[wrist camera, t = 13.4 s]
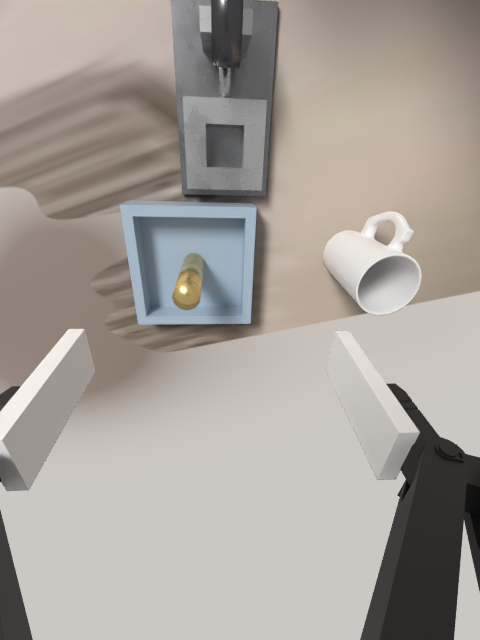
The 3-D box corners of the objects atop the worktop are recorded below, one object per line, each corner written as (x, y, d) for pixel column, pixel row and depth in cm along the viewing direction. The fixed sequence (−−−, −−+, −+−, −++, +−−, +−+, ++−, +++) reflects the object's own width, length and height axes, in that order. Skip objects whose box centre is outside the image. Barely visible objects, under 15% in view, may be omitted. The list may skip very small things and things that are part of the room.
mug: (355, 281, 43) (399, 321, 33) (312, 269, 42) (344, 307, 31) (390, 210, 39) (454, 231, 28) (344, 195, 37) (393, 211, 27)
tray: (128, 200, 36) (119, 204, 33) (253, 203, 37) (256, 207, 34) (144, 312, 43) (138, 324, 40) (248, 311, 44) (250, 323, 41)
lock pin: (182, 252, 39) (171, 284, 29) (204, 253, 39) (199, 285, 29) (184, 273, 40) (173, 310, 31) (204, 273, 40) (200, 310, 31)
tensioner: (171, -3, 28) (154, -61, 20) (277, 4, 28) (298, -49, 21) (182, 193, 36) (173, 203, 29) (264, 195, 37) (276, 205, 29)
